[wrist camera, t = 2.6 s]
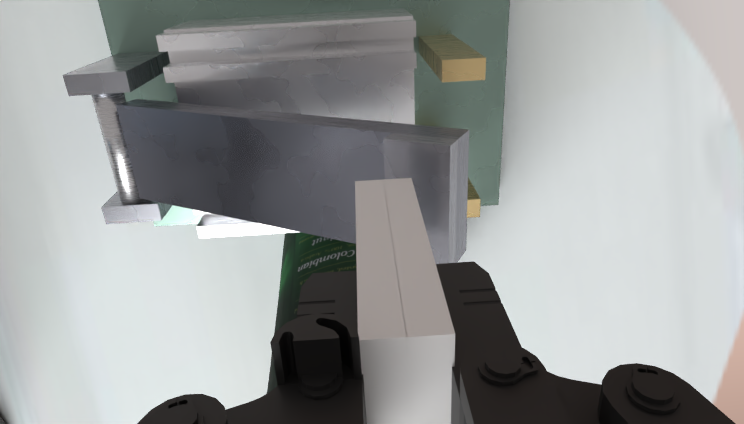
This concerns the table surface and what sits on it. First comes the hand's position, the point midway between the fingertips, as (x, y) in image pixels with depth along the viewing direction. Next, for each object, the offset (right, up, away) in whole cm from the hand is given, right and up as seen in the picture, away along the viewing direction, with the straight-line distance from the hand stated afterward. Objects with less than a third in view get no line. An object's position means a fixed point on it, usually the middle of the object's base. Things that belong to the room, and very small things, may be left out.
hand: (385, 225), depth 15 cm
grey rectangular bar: (-4, +2, +5) cm, 6 cm away
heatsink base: (-4, +6, +13) cm, 15 cm away
